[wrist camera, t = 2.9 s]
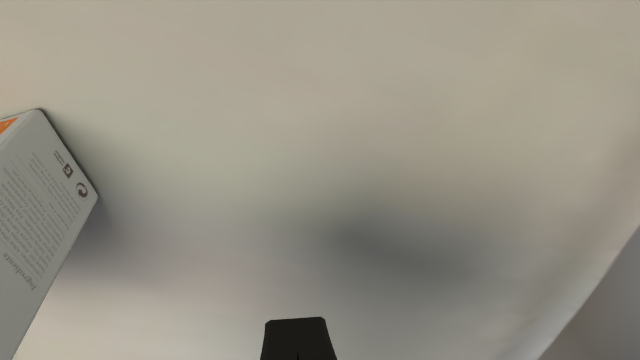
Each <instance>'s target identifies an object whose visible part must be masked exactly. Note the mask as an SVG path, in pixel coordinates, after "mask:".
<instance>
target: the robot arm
mask: <svg viewBox="0 0 640 360" xmlns="http://www.w3.org/2000/svg"><path fill="white" fill-rule="evenodd" d="M260 360H337V358H336V355H335V352H334V349H333V347H332V344H331V341H330V337H329V334H328V330H327V327H326V322H325V319H323V318H322V317H309V318H295V319H281V320H270V321H268V322H267V323H266V324H265V334H264V341H263V348H262V353H261V358H260Z"/></svg>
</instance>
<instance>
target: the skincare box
mask: <svg viewBox="0 0 640 360" xmlns="http://www.w3.org/2000/svg"><path fill="white" fill-rule="evenodd" d="M97 199H98V196H97V193H96V192H95V190H94V189H93V187H92V186H91V184H90V183H89V181H88V180H87V178H86V177H85V175H84V174H83V172H82V171H81V169H80V168H79V167H78V165H77V164H76V162H75V161H74V159H73V157H72V156H71V155H70V153H69V152H68V150H67V149H66V147H65V146H64V144H63V143H62V141H61V140H60V138H59V137H58V135H57V134H56V132H55V131H54V129H53V128H52V126H51V124H50V123H49V121H48V120H47V118H46V117H45V116H44V114H43V113H42V112H41V111H40V110H37V109H35V110H30V111H27V112H25V113H22V114H18V115H15V116H11V117H8V118H4V119H0V360H12V358H13V356H14V355H15V353H16V351H17V349H18V347H19V345H20V343H21V341H22V339H23V338H24V336H25V334H26V332H27V330H28V329H29V327H30V325H31V323H32V321H33V319H34V317H35V315H36V314H37V312H38V310H39V308H40V306H41V304H42V302H43V300H44V298H45V297H46V295H47V293H48V291H49V289H50V287H51V285H52V283H53V282H54V280H55V278H56V276H57V274H58V272H59V270H60V268H61V267H62V265H63V263H64V261H65V259H66V257H67V256H68V254H69V252H70V250H71V248H72V246H73V245H74V243H75V241H76V239H77V237H78V235H79V233H80V231H81V229H82V228H83V226H84V224H85V222H86V220H87V218H88V216H89V214H90V212H91V210H92V209H93V207H94V205H95V203H96V201H97Z"/></svg>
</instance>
